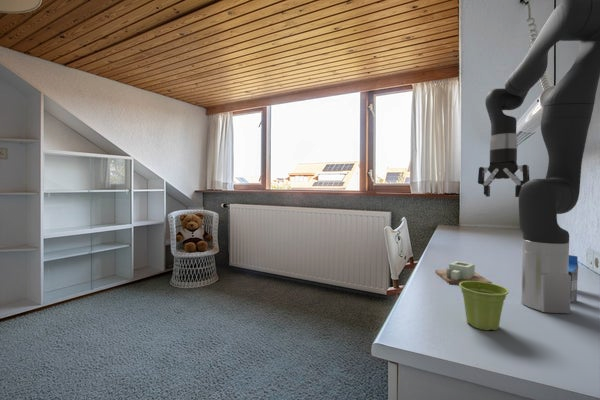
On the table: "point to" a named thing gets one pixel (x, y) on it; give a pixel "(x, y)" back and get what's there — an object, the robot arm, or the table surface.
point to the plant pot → (483, 303)
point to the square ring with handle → (462, 270)
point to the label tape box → (573, 276)
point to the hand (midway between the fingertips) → (502, 196)
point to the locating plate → (447, 277)
